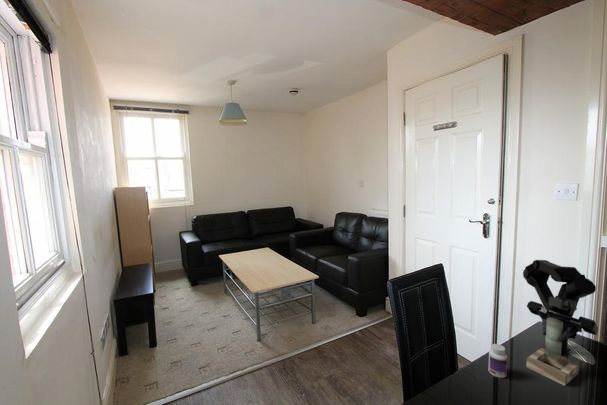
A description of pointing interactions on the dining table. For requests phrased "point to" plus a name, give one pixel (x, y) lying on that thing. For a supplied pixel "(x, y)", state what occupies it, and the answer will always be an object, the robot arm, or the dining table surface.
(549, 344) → the peg
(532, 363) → the holder
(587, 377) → the dining table surface
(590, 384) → the dining table surface
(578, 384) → the dining table surface
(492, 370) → the pill bottle
